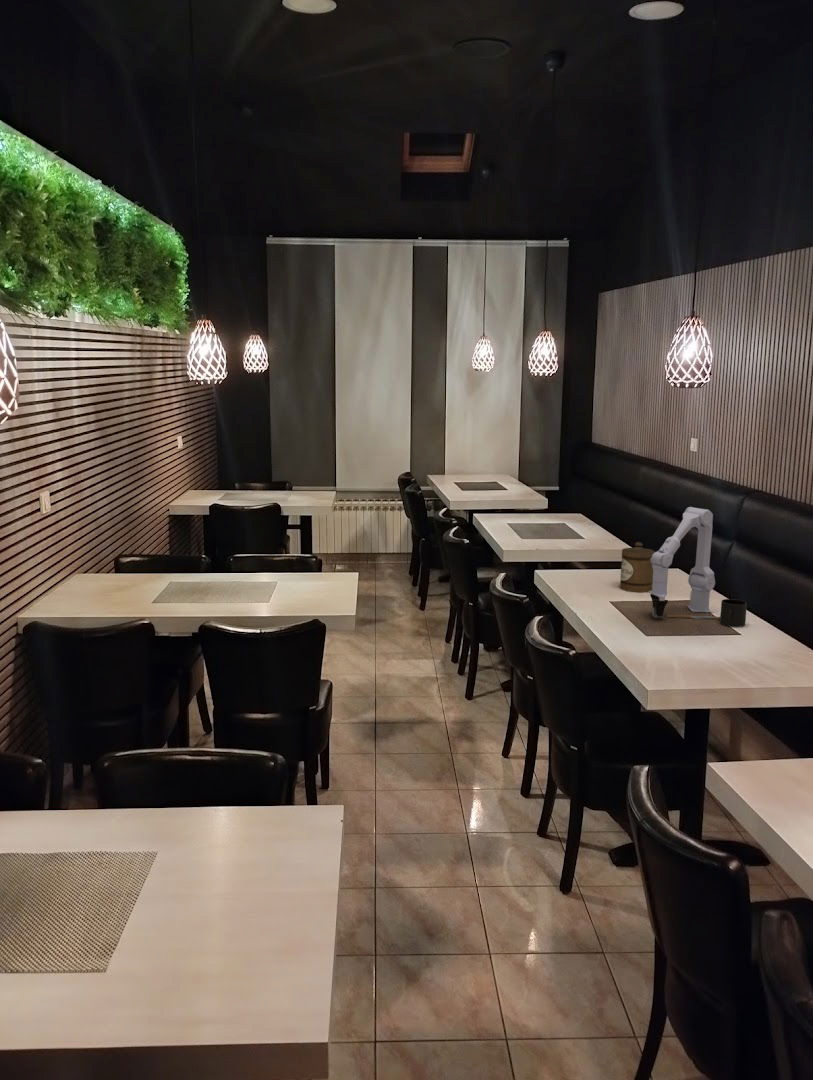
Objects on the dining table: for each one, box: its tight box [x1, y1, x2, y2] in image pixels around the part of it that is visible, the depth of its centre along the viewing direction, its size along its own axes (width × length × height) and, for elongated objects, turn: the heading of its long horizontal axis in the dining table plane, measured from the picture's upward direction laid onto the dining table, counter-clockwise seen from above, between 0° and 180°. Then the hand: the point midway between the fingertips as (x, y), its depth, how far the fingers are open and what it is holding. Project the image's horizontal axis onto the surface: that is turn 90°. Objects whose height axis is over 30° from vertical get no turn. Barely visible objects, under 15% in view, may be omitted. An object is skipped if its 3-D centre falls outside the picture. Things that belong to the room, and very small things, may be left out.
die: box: [651, 606, 665, 619], centre depth 352 cm, size 4×4×4 cm
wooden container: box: [619, 541, 656, 593], centre depth 398 cm, size 15×15×22 cm
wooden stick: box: [665, 614, 720, 621], centre depth 351 cm, size 2×28×1 cm, turn 83°
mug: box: [719, 598, 748, 628], centre depth 341 cm, size 9×12×9 cm
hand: (657, 613), depth 352 cm, fingers open, 6 cm apart
